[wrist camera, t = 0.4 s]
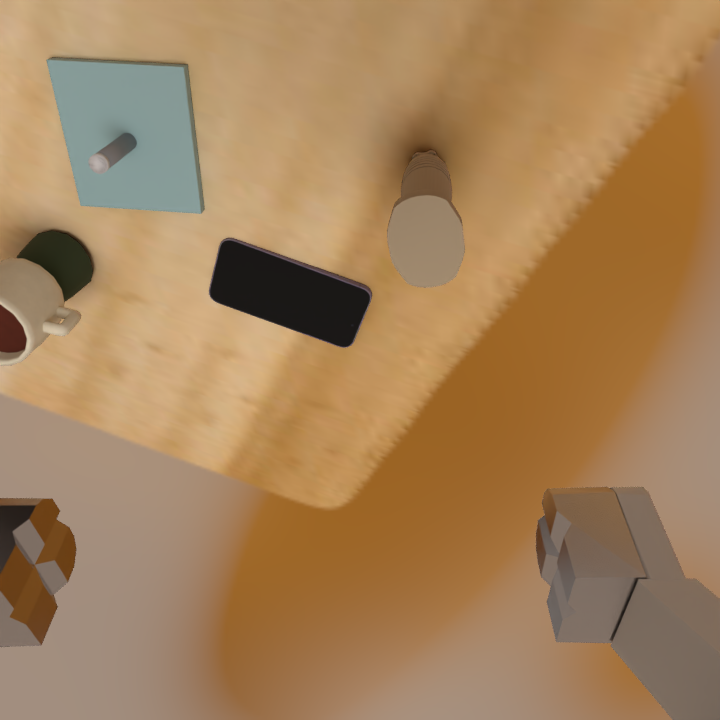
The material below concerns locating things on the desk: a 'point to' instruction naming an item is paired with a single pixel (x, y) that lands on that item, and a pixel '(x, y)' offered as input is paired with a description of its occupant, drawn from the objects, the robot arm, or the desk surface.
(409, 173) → the handle
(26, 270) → the character mug
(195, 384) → the desk surface
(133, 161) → the post base
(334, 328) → the smartphone
